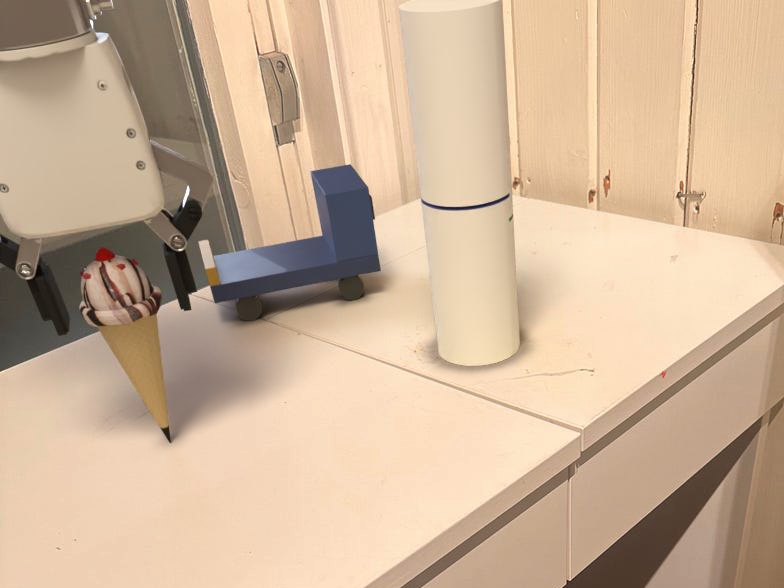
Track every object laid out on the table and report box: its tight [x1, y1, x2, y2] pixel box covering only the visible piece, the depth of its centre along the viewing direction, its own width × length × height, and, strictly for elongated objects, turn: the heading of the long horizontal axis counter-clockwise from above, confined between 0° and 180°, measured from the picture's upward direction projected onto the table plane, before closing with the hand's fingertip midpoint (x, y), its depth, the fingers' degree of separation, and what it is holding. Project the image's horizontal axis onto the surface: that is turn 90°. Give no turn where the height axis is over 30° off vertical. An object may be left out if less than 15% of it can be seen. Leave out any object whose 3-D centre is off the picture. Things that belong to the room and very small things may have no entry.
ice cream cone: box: [78, 246, 172, 444], centre depth 66 cm, size 6×6×15 cm
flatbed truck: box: [198, 163, 382, 321], centre depth 88 cm, size 16×8×10 cm, turn 108°
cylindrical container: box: [398, 0, 521, 367], centre depth 71 cm, size 7×7×25 cm
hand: (125, 314), depth 64 cm, fingers open, 7 cm apart
